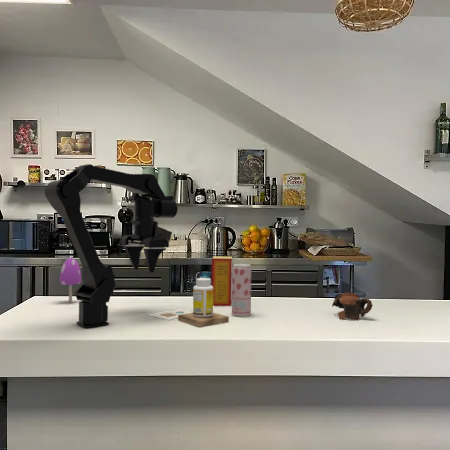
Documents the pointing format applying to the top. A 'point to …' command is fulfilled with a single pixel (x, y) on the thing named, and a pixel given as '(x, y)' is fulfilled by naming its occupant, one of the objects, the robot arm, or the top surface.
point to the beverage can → (241, 290)
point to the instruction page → (170, 314)
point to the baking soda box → (222, 280)
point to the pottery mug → (351, 305)
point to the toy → (70, 275)
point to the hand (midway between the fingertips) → (143, 271)
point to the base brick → (203, 319)
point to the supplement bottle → (203, 298)
